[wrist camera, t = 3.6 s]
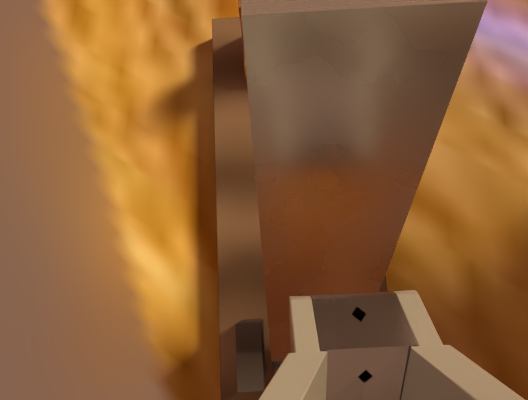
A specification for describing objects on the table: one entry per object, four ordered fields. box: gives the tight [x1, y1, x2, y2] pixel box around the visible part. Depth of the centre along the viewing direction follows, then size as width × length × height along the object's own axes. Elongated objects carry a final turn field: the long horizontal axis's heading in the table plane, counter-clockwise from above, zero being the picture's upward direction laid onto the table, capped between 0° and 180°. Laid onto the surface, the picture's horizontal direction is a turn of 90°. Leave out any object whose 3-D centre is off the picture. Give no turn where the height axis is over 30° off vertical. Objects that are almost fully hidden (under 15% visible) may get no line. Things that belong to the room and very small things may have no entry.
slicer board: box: [212, 0, 387, 400], centre depth 25 cm, size 25×10×8 cm, turn 3°
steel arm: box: [241, 0, 487, 372], centre depth 15 cm, size 19×4×2 cm
